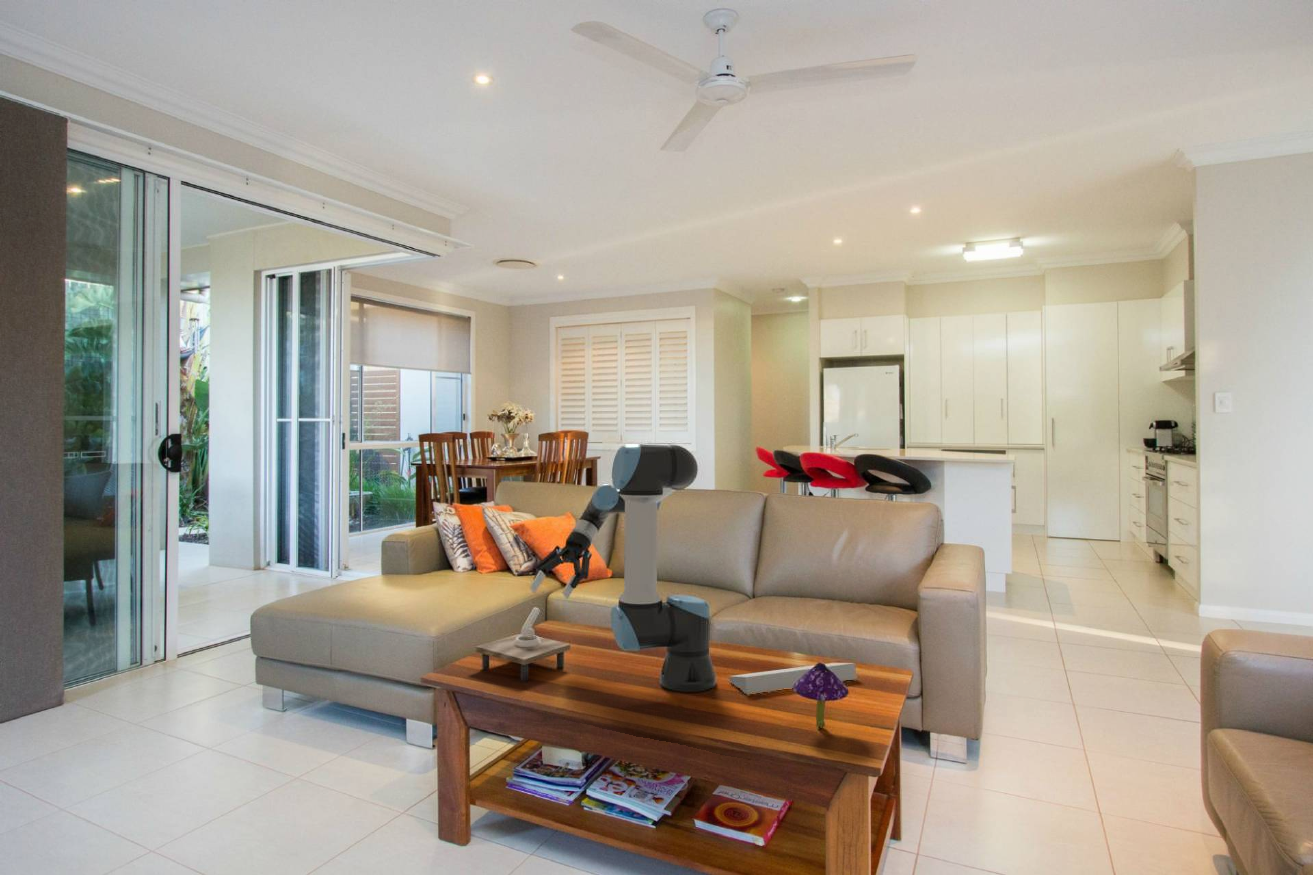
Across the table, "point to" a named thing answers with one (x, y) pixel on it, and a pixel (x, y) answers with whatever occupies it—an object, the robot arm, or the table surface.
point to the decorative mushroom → (820, 688)
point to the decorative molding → (786, 677)
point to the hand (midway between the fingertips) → (548, 593)
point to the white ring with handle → (528, 632)
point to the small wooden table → (522, 652)
